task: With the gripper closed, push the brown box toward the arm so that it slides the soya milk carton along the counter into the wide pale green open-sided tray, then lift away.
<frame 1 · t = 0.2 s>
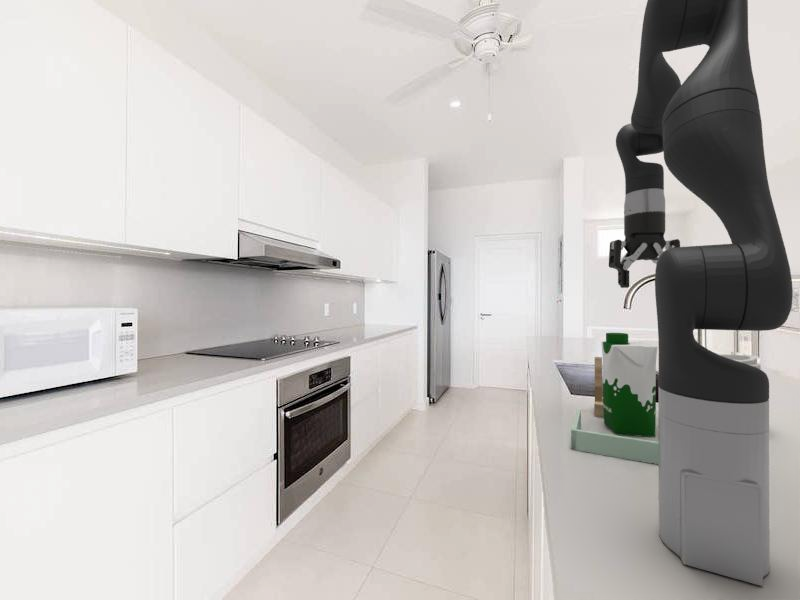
hand: (644, 287, 81), 30 cm above the countertop, tool pointing down, fingers open, 8 cm apart
disposable coffee cup: (725, 427, 78), on the countertop
brown box: (619, 415, 85), on the countertop
tray: (631, 445, 68), on the countertop
soya milk: (628, 430, 76), on the countertop
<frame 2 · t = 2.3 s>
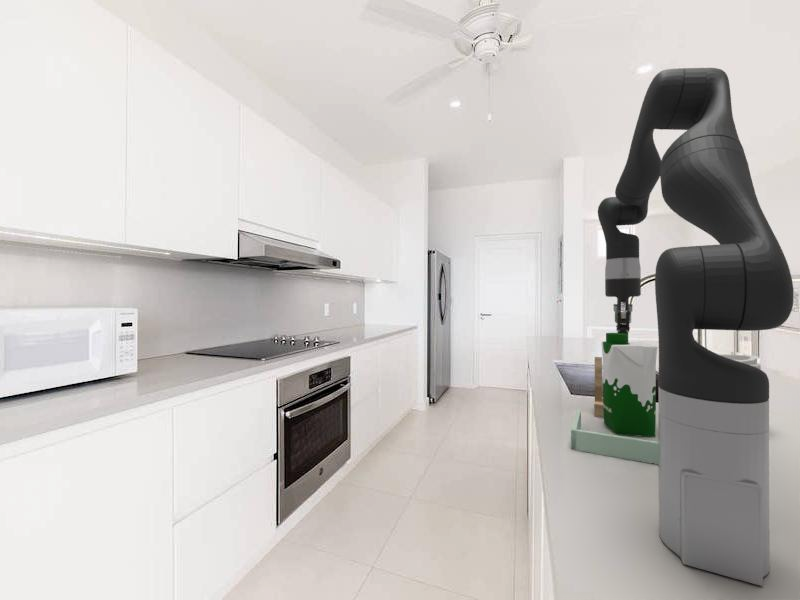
hand: (622, 347, 91), 15 cm above the countertop, tool pointing down, fingers closed
nothing on the countertop moved.
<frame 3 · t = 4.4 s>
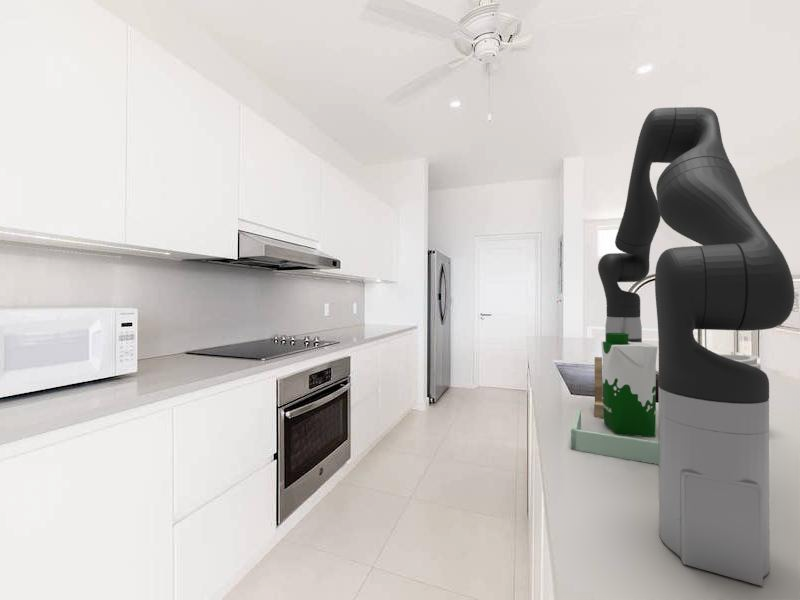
hand: (623, 406, 89), 1 cm above the countertop, tool pointing down, fingers closed
brown box: (619, 416, 85), on the countertop, touching gripper
everything else where it was.
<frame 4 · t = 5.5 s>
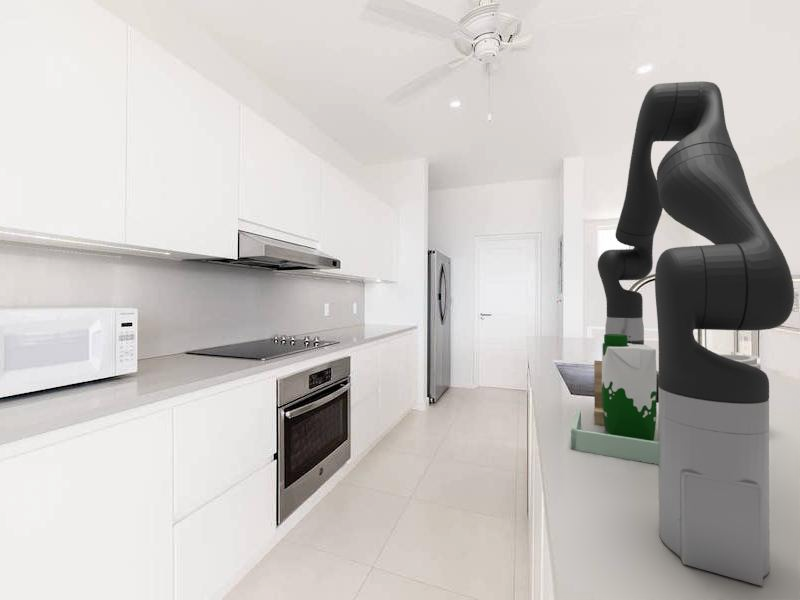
hand: (624, 412, 84), 1 cm above the countertop, tool pointing down, fingers closed
brown box: (620, 423, 80), on the countertop, touching gripper, soya milk
soya milk: (628, 436, 73), on the countertop, touching brown box
everything else where it was.
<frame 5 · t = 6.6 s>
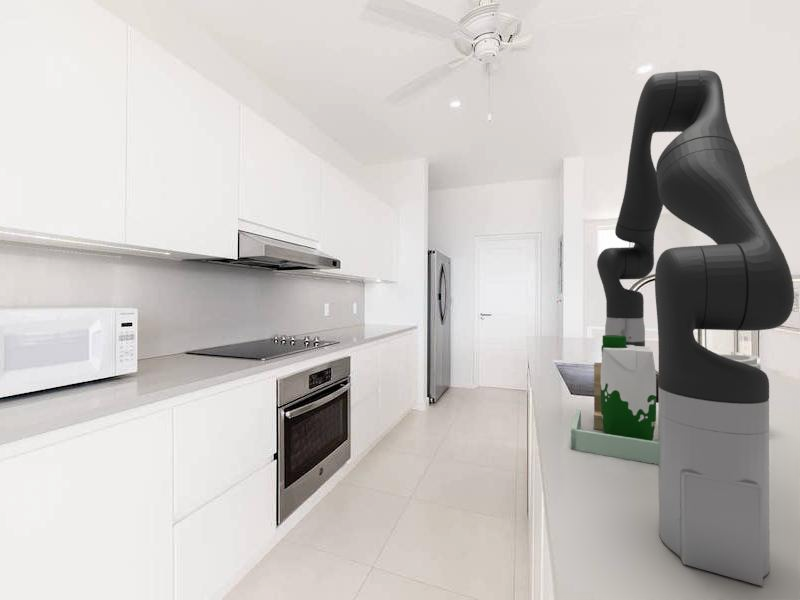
hand: (624, 415, 82), 1 cm above the countertop, tool pointing down, fingers closed
brown box: (621, 427, 77), on the countertop, touching gripper, soya milk
soya milk: (627, 441, 71), on the countertop, touching brown box
everything else where it was.
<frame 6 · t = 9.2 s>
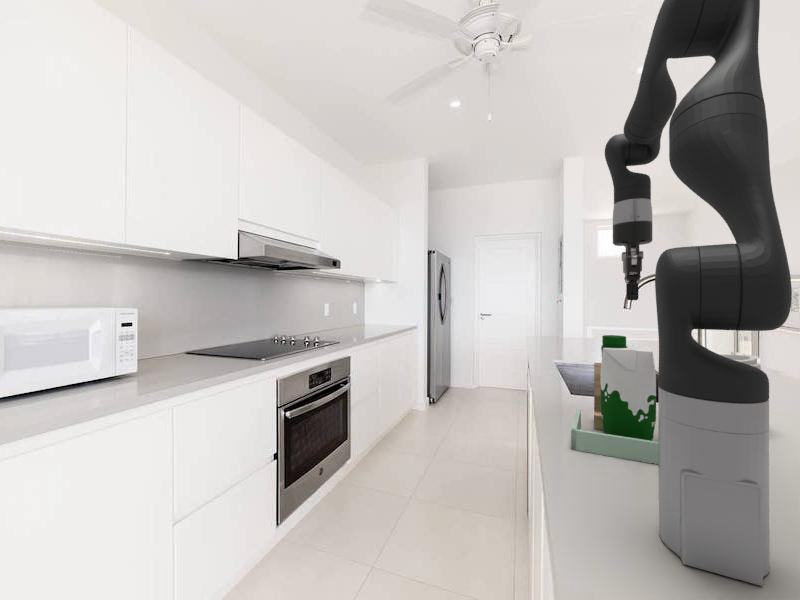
hand: (632, 300, 82), 27 cm above the countertop, tool pointing down, fingers closed
brown box: (621, 428, 77), on the countertop
soya milk: (627, 441, 71), on the countertop
everything else where it was.
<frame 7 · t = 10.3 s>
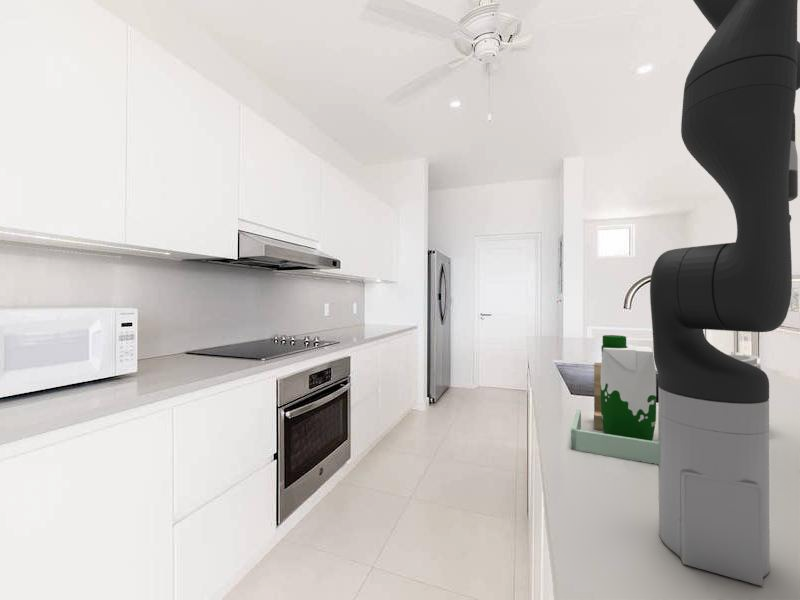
hand: (765, 276, 63), 31 cm above the countertop, tool pointing down, fingers closed
nothing on the countertop moved.
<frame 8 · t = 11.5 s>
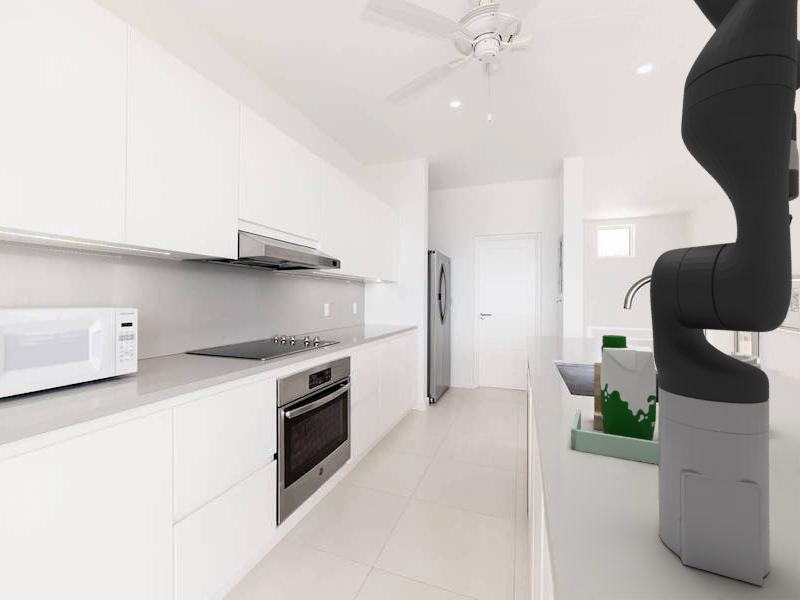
hand: (766, 276, 63), 31 cm above the countertop, tool pointing down, fingers closed
nothing on the countertop moved.
at the end: soya milk inside the target area (1.2 cm from its centre), on the countertop; soya milk tilted 0° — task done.
